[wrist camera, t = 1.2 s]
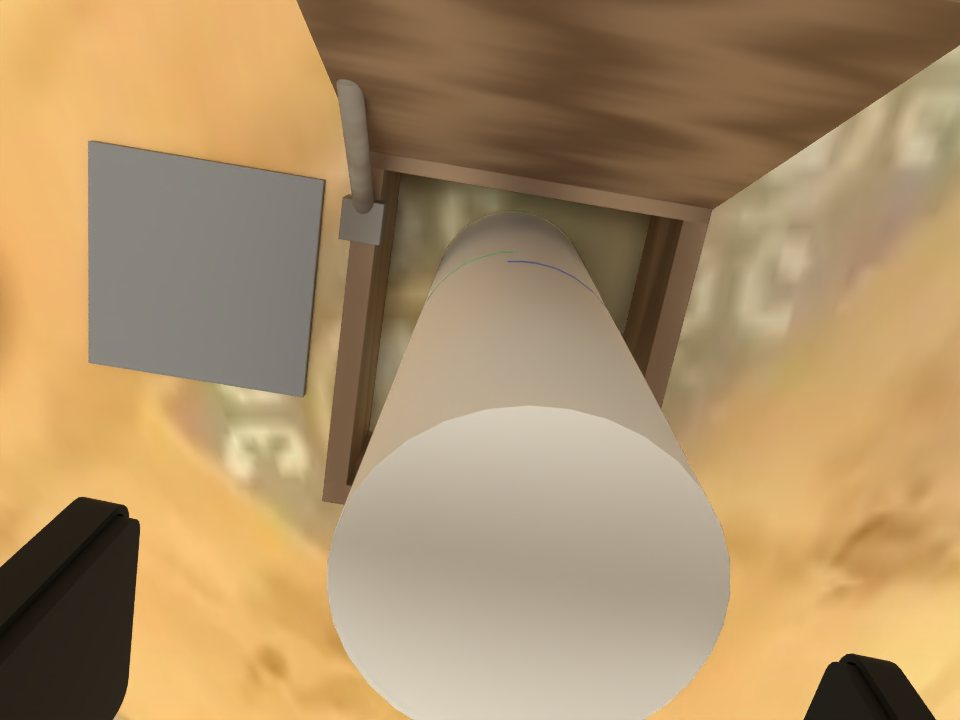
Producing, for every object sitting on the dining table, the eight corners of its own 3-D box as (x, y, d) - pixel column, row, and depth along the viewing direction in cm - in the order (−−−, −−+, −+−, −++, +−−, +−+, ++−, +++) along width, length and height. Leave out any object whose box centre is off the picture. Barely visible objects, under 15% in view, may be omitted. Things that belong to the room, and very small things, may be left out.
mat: (325, 179, 36) (323, 180, 35) (304, 394, 39) (302, 397, 39) (92, 140, 36) (88, 140, 35) (92, 360, 39) (88, 362, 39)
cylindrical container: (567, 364, 38) (673, 776, 15) (427, 340, 38) (307, 719, 14) (598, 225, 36) (783, 445, 12) (450, 198, 36) (351, 371, 12)
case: (712, 51, 34) (1026, -34, 14) (607, 487, 40) (711, 858, 20) (393, -5, 33) (229, -178, 13) (342, 444, 40) (181, 781, 20)
